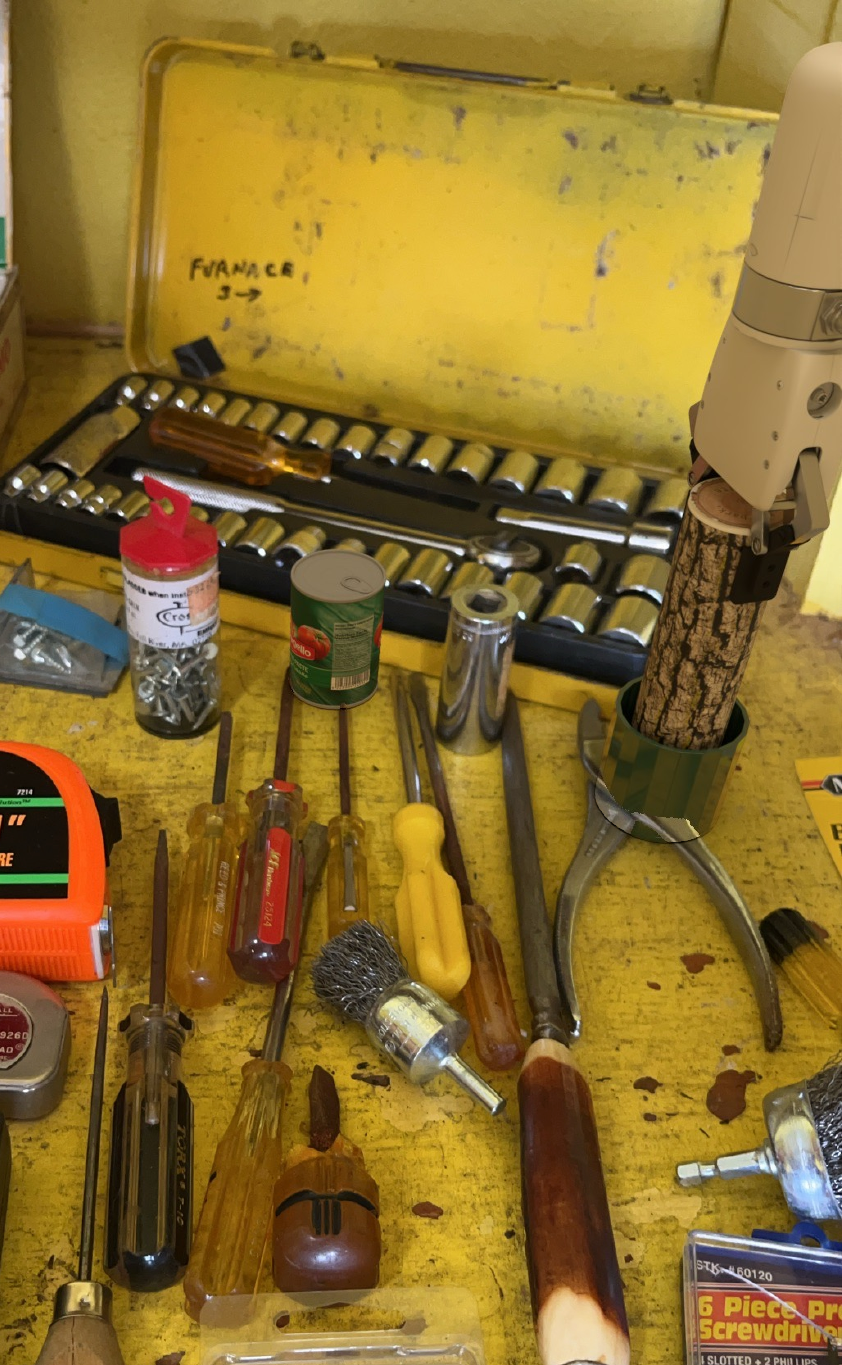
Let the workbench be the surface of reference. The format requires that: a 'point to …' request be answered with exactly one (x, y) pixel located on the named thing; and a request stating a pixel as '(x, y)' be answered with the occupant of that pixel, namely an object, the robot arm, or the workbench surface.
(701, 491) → the paper tube
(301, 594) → the canned tomato
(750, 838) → the workbench surface
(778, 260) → the robot arm
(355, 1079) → the workbench surface
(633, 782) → the tool cup
